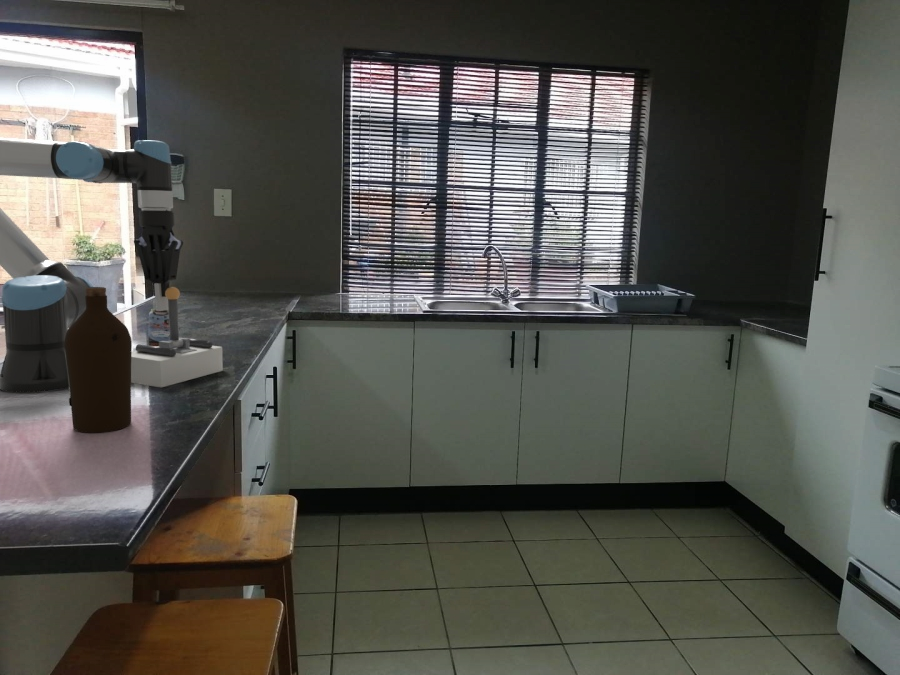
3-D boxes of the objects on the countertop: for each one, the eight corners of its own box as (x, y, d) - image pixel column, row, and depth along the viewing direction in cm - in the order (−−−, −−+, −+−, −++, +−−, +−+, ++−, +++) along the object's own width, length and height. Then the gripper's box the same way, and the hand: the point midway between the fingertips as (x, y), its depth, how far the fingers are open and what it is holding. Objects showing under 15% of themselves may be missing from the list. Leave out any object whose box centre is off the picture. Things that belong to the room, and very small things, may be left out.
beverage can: (146, 353, 185) (145, 310, 183) (151, 348, 192) (149, 306, 190) (171, 353, 187) (170, 310, 185) (174, 348, 194) (173, 306, 192)
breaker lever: (174, 349, 160) (171, 287, 157) (163, 348, 161) (161, 287, 158) (185, 347, 163) (183, 286, 160) (175, 346, 164) (172, 285, 162)
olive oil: (145, 418, 128) (140, 286, 124) (117, 435, 117) (110, 292, 113) (89, 415, 128) (81, 283, 124) (56, 433, 117) (47, 289, 113)
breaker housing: (161, 387, 150) (159, 350, 149) (117, 380, 155) (115, 344, 154) (222, 370, 169) (222, 337, 167) (181, 364, 173) (181, 332, 172)
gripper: (189, 210, 159) (195, 309, 163) (147, 209, 164) (153, 306, 168) (165, 209, 152) (172, 313, 156) (122, 209, 157) (129, 310, 161)
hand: (162, 310), depth 162 cm, fingers closed
